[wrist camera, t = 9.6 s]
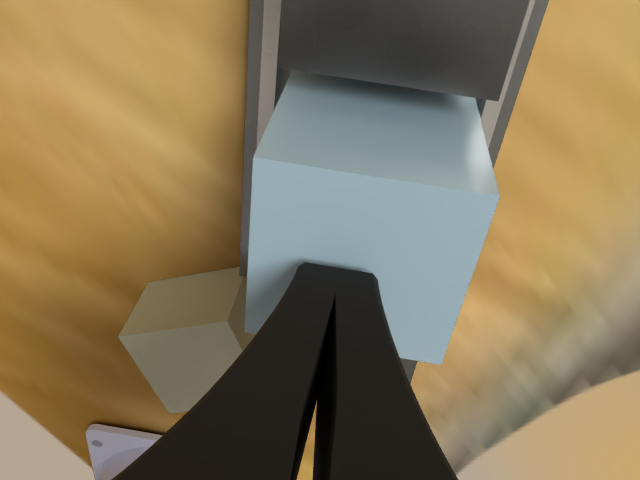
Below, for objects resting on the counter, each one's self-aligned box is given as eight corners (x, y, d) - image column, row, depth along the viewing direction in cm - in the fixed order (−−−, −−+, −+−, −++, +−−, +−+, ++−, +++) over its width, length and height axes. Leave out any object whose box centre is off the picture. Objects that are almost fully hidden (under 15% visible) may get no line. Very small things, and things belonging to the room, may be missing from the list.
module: (432, 205, 16) (443, 365, 12) (289, 182, 17) (241, 331, 12) (469, 67, 14) (503, 196, 9) (302, 42, 14) (249, 156, 9)
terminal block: (284, 341, 23) (269, 403, 20) (193, 353, 24) (169, 413, 22) (247, 262, 21) (227, 321, 18) (149, 279, 22) (117, 336, 19)
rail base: (444, 290, 20) (455, 422, 16) (245, 257, 20) (201, 379, 16) (572, -111, 13) (659, -74, 9) (264, -155, 13) (194, -141, 9)
